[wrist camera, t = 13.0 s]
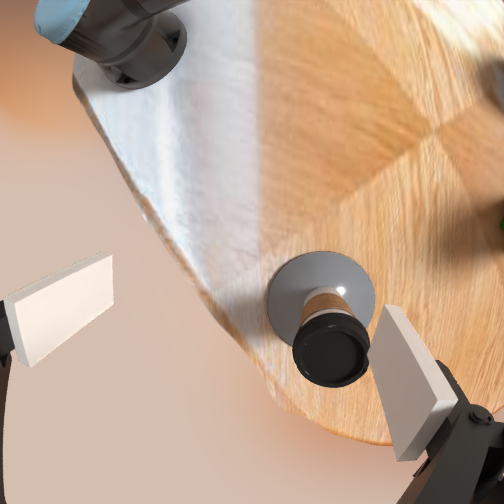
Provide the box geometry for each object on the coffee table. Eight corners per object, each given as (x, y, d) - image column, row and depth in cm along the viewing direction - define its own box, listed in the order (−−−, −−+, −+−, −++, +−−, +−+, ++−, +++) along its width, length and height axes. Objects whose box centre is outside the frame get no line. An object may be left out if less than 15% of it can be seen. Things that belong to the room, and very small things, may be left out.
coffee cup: (336, 338, 43) (347, 401, 28) (285, 318, 43) (277, 377, 29) (362, 291, 41) (389, 340, 26) (310, 268, 41) (314, 310, 27)
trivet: (246, 288, 44) (245, 289, 44) (340, 229, 40) (341, 230, 40) (302, 366, 45) (302, 368, 45) (390, 318, 41) (391, 319, 41)
